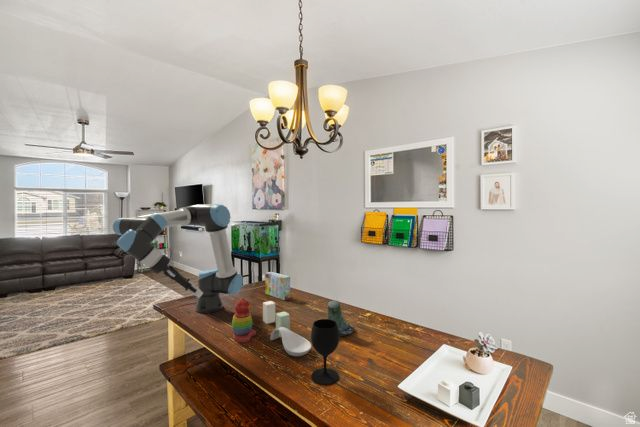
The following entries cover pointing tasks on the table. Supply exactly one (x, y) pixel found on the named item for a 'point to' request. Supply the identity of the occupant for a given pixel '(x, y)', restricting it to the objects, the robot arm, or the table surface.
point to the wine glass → (325, 349)
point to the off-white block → (268, 312)
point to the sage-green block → (282, 321)
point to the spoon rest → (292, 342)
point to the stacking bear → (242, 322)
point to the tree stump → (339, 318)
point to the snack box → (277, 285)
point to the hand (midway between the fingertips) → (199, 293)
